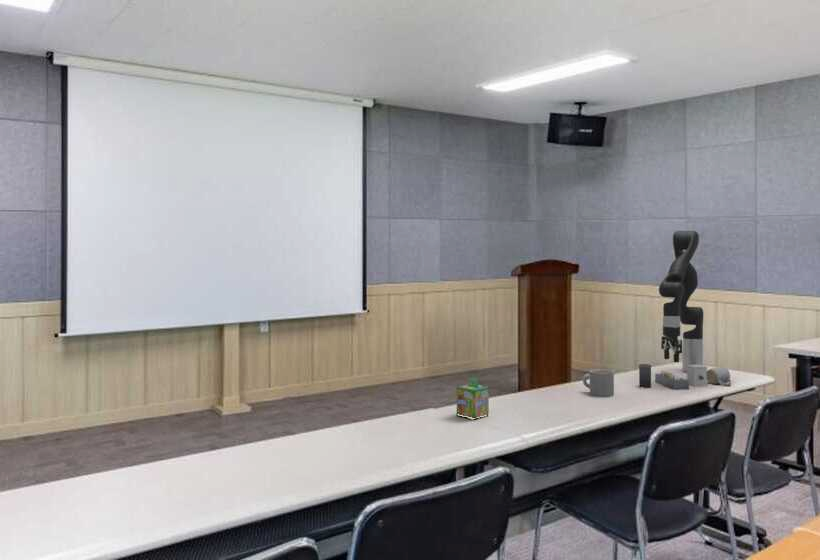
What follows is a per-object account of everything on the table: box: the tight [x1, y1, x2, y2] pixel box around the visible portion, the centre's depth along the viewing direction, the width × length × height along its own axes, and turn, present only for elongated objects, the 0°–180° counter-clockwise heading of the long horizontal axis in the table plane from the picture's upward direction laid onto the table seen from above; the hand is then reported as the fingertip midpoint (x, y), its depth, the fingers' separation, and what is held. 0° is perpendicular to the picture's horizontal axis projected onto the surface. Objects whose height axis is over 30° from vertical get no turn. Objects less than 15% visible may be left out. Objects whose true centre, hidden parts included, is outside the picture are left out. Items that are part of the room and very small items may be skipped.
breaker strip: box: [654, 370, 690, 391], centre depth 289 cm, size 17×7×6 cm, turn 6°
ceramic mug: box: [707, 365, 732, 386], centre depth 291 cm, size 11×8×8 cm
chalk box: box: [456, 376, 490, 418], centre depth 241 cm, size 9×9×15 cm
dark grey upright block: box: [638, 363, 652, 389], centre depth 287 cm, size 5×5×10 cm
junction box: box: [686, 364, 708, 387], centre depth 290 cm, size 7×6×9 cm
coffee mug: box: [582, 368, 615, 398], centre depth 276 cm, size 13×10×10 cm
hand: (671, 360), depth 289 cm, fingers open, 8 cm apart
